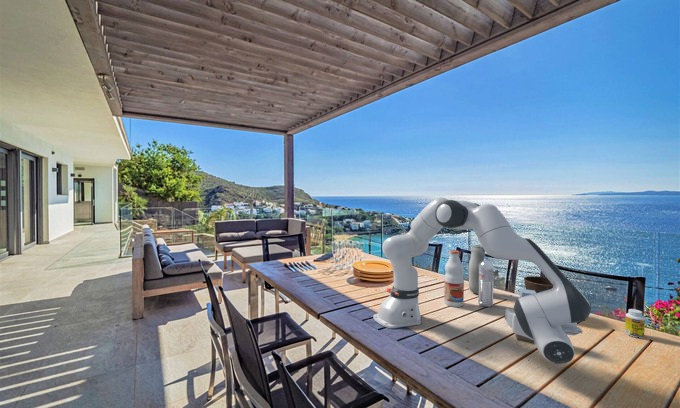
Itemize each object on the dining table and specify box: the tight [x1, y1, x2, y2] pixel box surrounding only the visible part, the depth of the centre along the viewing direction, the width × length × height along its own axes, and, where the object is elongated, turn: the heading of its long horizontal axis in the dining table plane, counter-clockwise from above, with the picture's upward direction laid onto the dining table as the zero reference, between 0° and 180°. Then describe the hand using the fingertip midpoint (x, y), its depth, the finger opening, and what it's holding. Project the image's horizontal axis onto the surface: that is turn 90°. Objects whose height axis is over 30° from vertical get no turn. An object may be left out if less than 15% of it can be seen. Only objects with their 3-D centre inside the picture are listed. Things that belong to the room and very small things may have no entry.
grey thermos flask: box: [468, 244, 486, 295], centre depth 169 cm, size 10×10×28 cm
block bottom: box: [514, 333, 535, 344], centre depth 117 cm, size 8×8×4 cm
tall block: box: [519, 288, 536, 298], centre depth 117 cm, size 5×5×10 cm
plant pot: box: [523, 275, 553, 293], centre depth 141 cm, size 15×15×16 cm
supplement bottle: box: [624, 308, 646, 339], centre depth 119 cm, size 6×6×10 cm
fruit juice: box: [443, 249, 465, 308], centre depth 153 cm, size 9×9×28 cm
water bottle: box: [477, 256, 495, 308], centre depth 151 cm, size 7×7×25 cm
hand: (534, 312), depth 106 cm, fingers open, 8 cm apart
